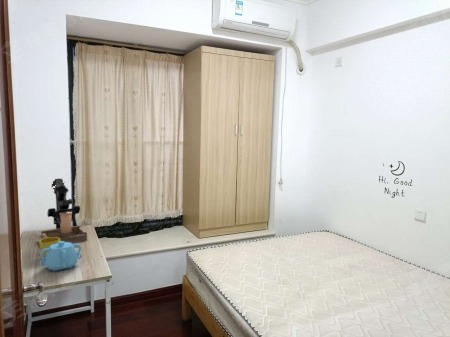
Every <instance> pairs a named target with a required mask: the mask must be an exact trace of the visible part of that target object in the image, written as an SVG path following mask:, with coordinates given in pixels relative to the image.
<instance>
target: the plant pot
mask: <svg viewBox="0 0 450 337" xmlns="http://www.w3.org/2000/svg"><path fill="white" fill-rule="evenodd" d="M60 238H61V237H60ZM60 238H58V237H48V238H44V239H40V240H39V241H38V244H39V245H38V246H39V248H40V250H41V251H42V250H43V249H46V248H49V247H50V246H51V245H53V244H57V243H58V242H60ZM47 251H48V250H47ZM47 251H44V252H43V257H44V258H45V256H46V253H47Z"/></svg>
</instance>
